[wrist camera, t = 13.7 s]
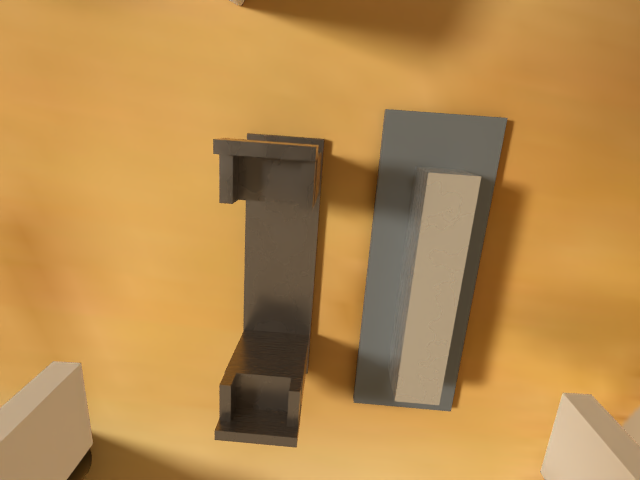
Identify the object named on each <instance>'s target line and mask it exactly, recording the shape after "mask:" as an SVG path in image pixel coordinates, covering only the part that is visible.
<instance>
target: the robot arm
mask: <svg viewBox="0 0 640 480" xmlns="http://www.w3.org/2000/svg"><path fill="white" fill-rule="evenodd" d="M92 444H93V439H92V433H91V426H90V419H89V413H88V406H87V399H86V393H85V386H84V379H83V373H82V366H81V363H72V362H56V361H53V362H52V363H51V364H50V365H49V366H47V367H46V368H45V369H44V370H43V371H42V372H41V373H39V374H38V375H37V376H36V377H35V378H34V379H33V380H31V381H30V382H29V383H28V384H27V385H26V386H25V387H23V388H22V389H21V390H20V391H19V392H18V393H17V394H15V395H14V396H13V397H12V398H11V399H10V400H9V401H7V402H6V403H5V404H4V405H3V406H2V407H1V408H0V480H67V479H68V477H69V476H70V474H71V473H72V472H73V470H74V469H75V468H76V466H77V465H78V464H79V462H80V461H81V459H82V458H83V457H84V455H85V454H86V453H87V451H88V450H89V448H90V447H91V446H92ZM540 472H541V474H542V476H543V477H544V479H545V480H640V446H639V445H638V444H637V443H636V441H635V440H634V439H633V438H632V437H631V436H630V435H629V434H628V433H627V432H626V431H625V430H624V429H623V428H622V427H621V426H620V424H619V423H618V422H617V421H616V420H615V419H614V418H613V417H612V416H611V415H610V414H609V413H608V412H607V411H606V410H605V409H604V408H603V406H602V405H601V404H600V403H599V402H598V401H597V400H596V399H595V398H594V397H593V396H592V395H591V394H575V393H563V394H562V397H561V401H560V404H559V408H558V411H557V415H556V418H555V422H554V425H553V429H552V432H551V436H550V440H549V443H548V447H547V450H546V454H545V457H544V461H543V464H542V468H541V471H540Z"/></svg>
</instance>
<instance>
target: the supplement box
mask: <svg viewBox="0 0 640 480" xmlns="http://www.w3.org/2000/svg"><path fill="white" fill-rule="evenodd" d="M229 1H231V2H233V3H235V4H237V5H239V6H241V5H242V4H243V3H244V0H229Z"/></svg>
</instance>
